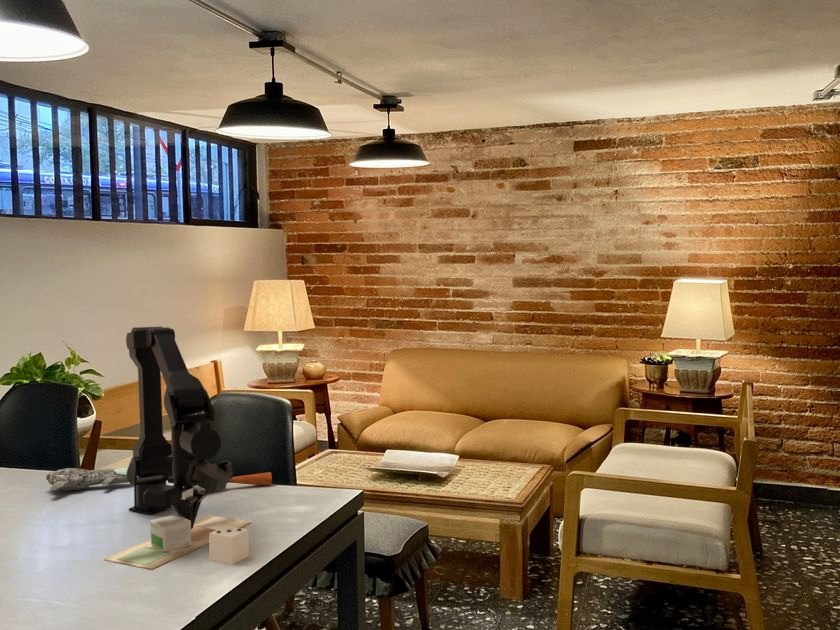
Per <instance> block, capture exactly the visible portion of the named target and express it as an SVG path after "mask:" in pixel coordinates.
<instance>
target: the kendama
mask: <svg viewBox="0 0 840 630" xmlns="http://www.w3.org/2000/svg"><path fill="white" fill-rule="evenodd" d="M272 482H273V476H272V472H269V471H268V472H261V473H254V474H247V475H239V476H233V478H232V479H230V480H229V483H228V484H238V485H239V484H240V485H241V484H242V485H251V486H253V485H254V486H264V487H265V486H266V487H269V486H270V487H271V486H272Z"/></svg>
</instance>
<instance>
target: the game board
mask: <svg viewBox="0 0 840 630" xmlns="http://www.w3.org/2000/svg"><path fill="white" fill-rule="evenodd" d="M251 524H252V521H249V520H242V519H238V518H237V519H236V518H230V517H223V516H217V515H210V514H208V515H206V516H203V517H201V518H198V519H195V523H194V526H193V529H191V545H190V546H186V547H182V548H178V549H175V550H171V551H167V552H164V551H162V550H161V549H159V548H157V547H155V546H153V545H151V539H149V540H146V541H144V542H142V543H139V544H137V545H135V546H132V547H130V548H127V549H125V550H123V551H121V552H118V553H116V554H114V555H110V556H108V557H106V558H104V559H103V560H104V561H107V562H111V563H116V564H122V565H127V566H132V567H138V568H141V569H148V570H152V571H153V570H154V569H156V568H159V567H160V566H163V565H165V564H167V563H169V562H172V561H174V560H176V559H178V558H180V557H182V556H184V555H186V554H189V553H191V552H193V551H195V550H197V549H199V548H201V547H204V546H206V545H209V533H211V532H214V531H216V530H218V529H220V528H222V527H225V526H232V527H238V528H244V527H246V526H248V525H251ZM171 560H172V561H171Z"/></svg>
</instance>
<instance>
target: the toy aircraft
mask: <svg viewBox="0 0 840 630" xmlns="http://www.w3.org/2000/svg"><path fill="white" fill-rule="evenodd" d="M127 470H128V467H127V468H126V467H124V468H123V467H121V468H114V469H91V470H88V469H83V468H76V467H75V468H74V467H68V468H67V467H66V468H63V469H62V468H61V469H57V470H55V471H50V472H48V474H45V477H46V478H45V479H46V480H47V482H48V483H49V485H51V487H50V489H49V490H50V491H58V490H60V491H65V492H71V491H79V490H80V491H81V490H84V489H88V488H89V487H93V486H98V485H101V486H107V485H109V484H116V485H118V484H125V483H126V484H128V483H129V482H128V480H127Z"/></svg>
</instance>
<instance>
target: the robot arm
mask: <svg viewBox="0 0 840 630" xmlns="http://www.w3.org/2000/svg"><path fill="white" fill-rule="evenodd" d="M125 338H126V339H125V342H126V343H125V344H126V348H127V350H128V354H129V357H130V360H131V361H132V362H133V363H134V365H135V367H137V379H138V381H137V383H138V403H139V404H138V406H139V408H138V409H139V411H138V412H139V433H140V435H139V437H138V439H137V440H136V443H135V445H134V446H133V448H132V457H131V459H130V461H129V465H128V467H127V469H128V470H127V480H128V482H127V483H128V484H130V485H132V486H133V499H134V501H133V503H134V504H133V505H134V506H131V507H129V508H128V510H129V512H136V513H142V514H147V515H153V514H156V513H159V512H162V511H163V510H167V509H169V508H172V507H173V508H174V510H175V512H176V514H177V515H179V516H181V517H183V518H186V519H188V520H190V521H191V529H193V526H194V523H195V521H196V520H197V519H196V518H197V515H198V513H199V509H200V507H201V506H200V505H201V503H202V501H203V500H204V499H205V498H206V497H207V496H208V495H210V494H216V493H217V492H219V491H221V490H226V488H227V484H230V483H229V480H230V479H232V478H233V477H234V475H233V464H232V462H230V461H228V460H223V461H221V462H220V463H219V464H218V463H210V459H212V458H214V457H215V456H216V455H217V454H218V453H219V451H220V450H221V445H222V440H221V437H220V434H218V432H217V431H216V430H215V429H212V428H211V422H214V421H215V413H216V411H215V409H214V405H213V403H212V401H211V399H210V396H209V393H208V391H207V390H206V389H205V387H204V385H203V384H202V382H201V380H200V379H199V378H198V377H197V376H195V375H193V374H191V373H190V372H189V370H188V367H187V365H186V363H185V361H184V357H183V356H182V354H181V350H180V348H179V346H178V344H177V341H176V334H175V330H174V328H171V327H168V326H167V327H163V326H139V327H137V326H136V327H133V328H131V330H130V332H127V334H126V337H125ZM162 378H163V380H164V383H165V386H166V388H165V392H164V396H163V397H162ZM162 398H163V400H162ZM163 405H164V410H165V411H166V414H167V416H168V418H169V424H170V425H171V426H170V433H171V435H170V437H171V442H169V441H168V440H167V439H166V437H165V435H164V429H163V428H164V427H163V426H164V424H163V423H164V422H163ZM168 484H169V485H168ZM170 484H173V485H170Z"/></svg>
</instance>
